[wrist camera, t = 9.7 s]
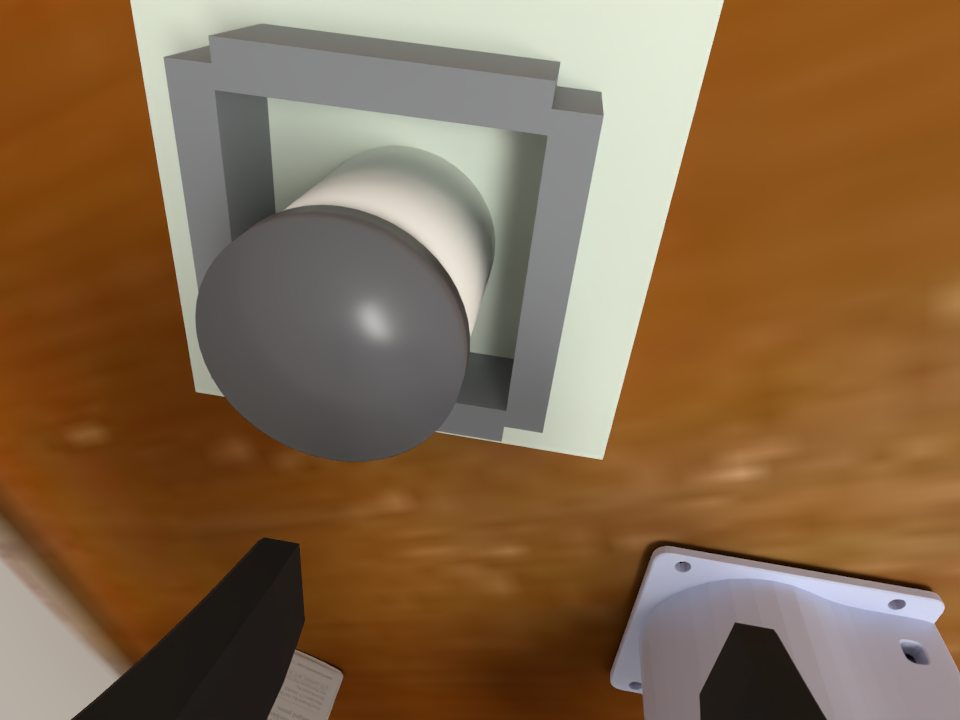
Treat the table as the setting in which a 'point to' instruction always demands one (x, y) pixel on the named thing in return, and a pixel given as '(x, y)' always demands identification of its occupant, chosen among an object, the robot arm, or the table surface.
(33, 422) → the table surface
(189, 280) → the mount board
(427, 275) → the lens cylinder
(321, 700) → the skincare box
